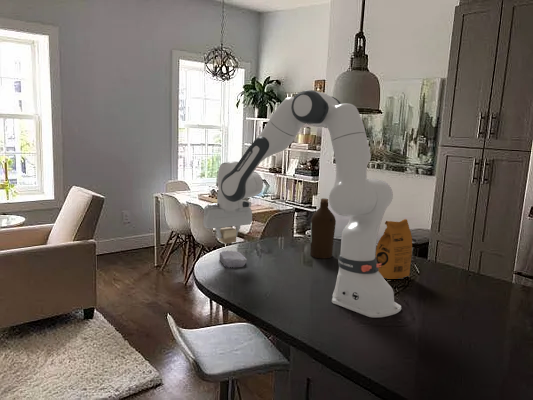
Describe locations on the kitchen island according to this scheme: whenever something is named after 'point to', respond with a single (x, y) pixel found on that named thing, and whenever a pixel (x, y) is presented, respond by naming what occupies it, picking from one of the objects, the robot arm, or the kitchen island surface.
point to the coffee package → (395, 250)
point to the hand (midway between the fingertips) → (227, 237)
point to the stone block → (232, 259)
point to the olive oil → (322, 231)
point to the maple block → (228, 235)
